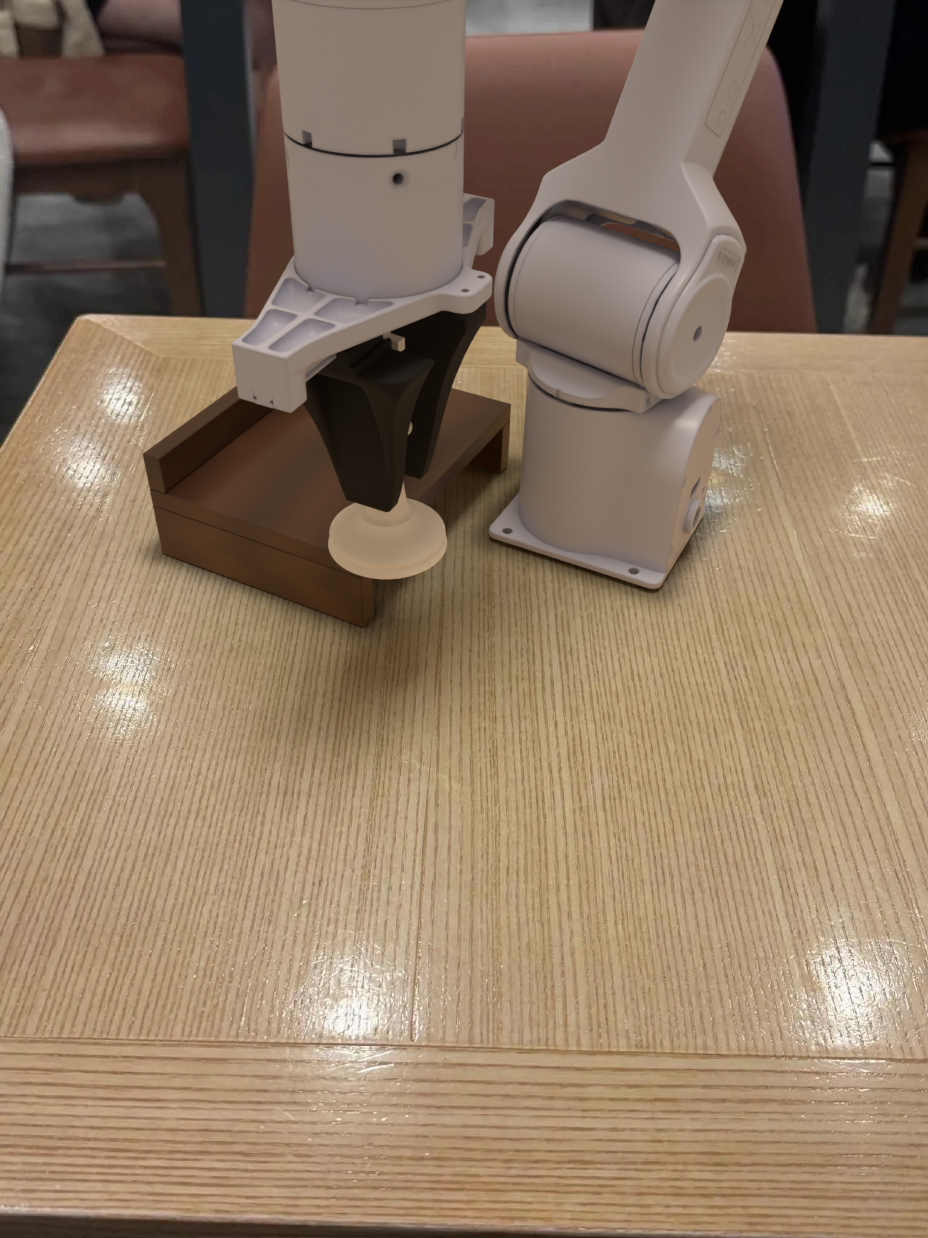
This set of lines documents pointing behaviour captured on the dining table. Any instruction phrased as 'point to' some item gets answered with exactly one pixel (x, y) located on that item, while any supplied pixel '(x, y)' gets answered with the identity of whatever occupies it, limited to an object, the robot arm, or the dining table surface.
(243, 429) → the shelf
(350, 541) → the chess piece
